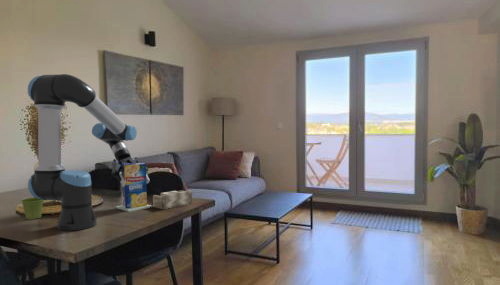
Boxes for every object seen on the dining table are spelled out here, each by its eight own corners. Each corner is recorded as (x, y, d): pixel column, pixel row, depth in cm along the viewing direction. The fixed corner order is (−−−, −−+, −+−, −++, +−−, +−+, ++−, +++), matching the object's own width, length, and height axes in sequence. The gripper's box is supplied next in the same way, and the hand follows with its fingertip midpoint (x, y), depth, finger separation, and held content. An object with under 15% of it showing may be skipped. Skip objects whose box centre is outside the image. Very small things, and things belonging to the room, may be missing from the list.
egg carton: (163, 209, 182) (163, 195, 181) (153, 206, 188) (152, 193, 188) (191, 203, 195) (191, 190, 195) (181, 201, 201) (180, 188, 201)
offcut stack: (164, 205, 186) (164, 194, 186) (159, 204, 190) (158, 193, 189) (183, 201, 195) (183, 191, 195) (177, 200, 198) (177, 190, 198)
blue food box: (147, 205, 187) (146, 163, 186) (125, 208, 181) (124, 165, 180) (143, 203, 193) (142, 162, 191) (122, 205, 187) (121, 163, 186)
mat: (128, 211, 177) (128, 210, 177) (116, 207, 186) (115, 206, 186) (151, 207, 187) (151, 205, 187) (138, 203, 196) (138, 202, 196)
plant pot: (40, 220, 163) (39, 201, 163) (17, 221, 162) (17, 202, 161) (48, 215, 173) (47, 197, 172) (27, 216, 171) (26, 197, 171)
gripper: (139, 155, 205) (154, 184, 196) (96, 159, 187) (111, 191, 177) (144, 147, 201) (160, 176, 192) (100, 149, 183) (116, 182, 174)
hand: (136, 183), depth 185 cm, fingers open, 13 cm apart
